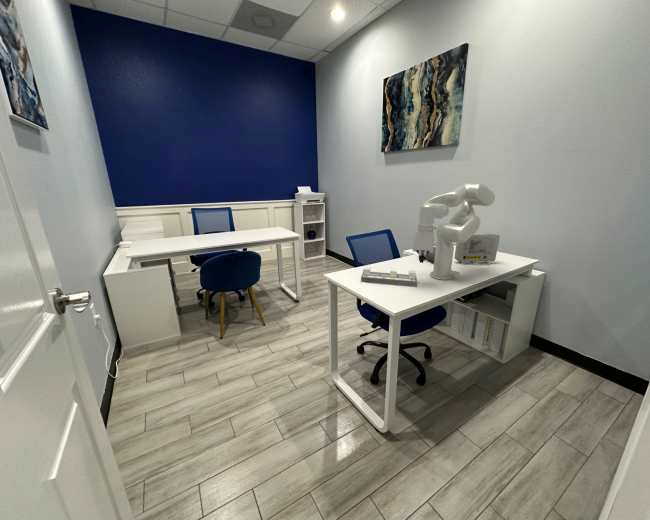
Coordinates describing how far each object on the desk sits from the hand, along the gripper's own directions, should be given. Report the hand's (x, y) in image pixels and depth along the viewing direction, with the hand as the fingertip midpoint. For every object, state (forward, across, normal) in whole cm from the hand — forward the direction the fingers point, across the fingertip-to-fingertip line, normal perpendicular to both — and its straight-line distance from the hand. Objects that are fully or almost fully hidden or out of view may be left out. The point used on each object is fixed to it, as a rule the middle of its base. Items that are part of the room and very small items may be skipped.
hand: (421, 262), depth 150 cm
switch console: (+13, +16, 0) cm, 21 cm away
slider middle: (+10, +14, -1) cm, 17 cm away
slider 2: (+10, +4, -1) cm, 10 cm away
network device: (+12, -39, -47) cm, 62 cm away
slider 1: (+10, +29, -1) cm, 31 cm away
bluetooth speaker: (+12, -12, -46) cm, 49 cm away
